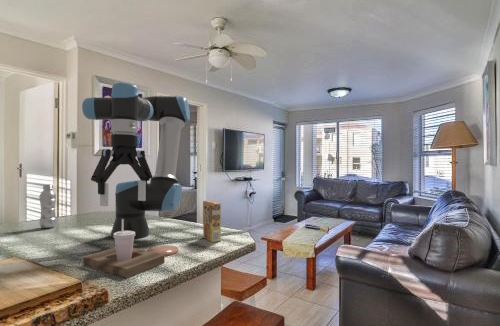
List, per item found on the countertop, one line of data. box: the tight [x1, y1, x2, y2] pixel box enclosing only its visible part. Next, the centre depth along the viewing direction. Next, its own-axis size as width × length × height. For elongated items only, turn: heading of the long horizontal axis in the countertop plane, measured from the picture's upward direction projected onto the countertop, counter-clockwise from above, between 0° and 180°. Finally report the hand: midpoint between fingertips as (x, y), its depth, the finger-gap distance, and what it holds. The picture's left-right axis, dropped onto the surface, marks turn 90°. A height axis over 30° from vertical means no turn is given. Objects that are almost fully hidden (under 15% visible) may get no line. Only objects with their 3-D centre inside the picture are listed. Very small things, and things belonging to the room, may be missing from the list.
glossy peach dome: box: [145, 244, 180, 257], centre depth 107 cm, size 11×11×1 cm
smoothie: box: [112, 219, 135, 262], centre depth 94 cm, size 6×6×14 cm
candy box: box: [202, 200, 222, 243], centre depth 123 cm, size 9×4×15 cm, turn 33°
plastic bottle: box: [38, 184, 58, 229], centre depth 140 cm, size 6×7×20 cm
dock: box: [82, 246, 165, 279], centre depth 94 cm, size 20×14×2 cm
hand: (124, 203), depth 93 cm, fingers open, 13 cm apart
